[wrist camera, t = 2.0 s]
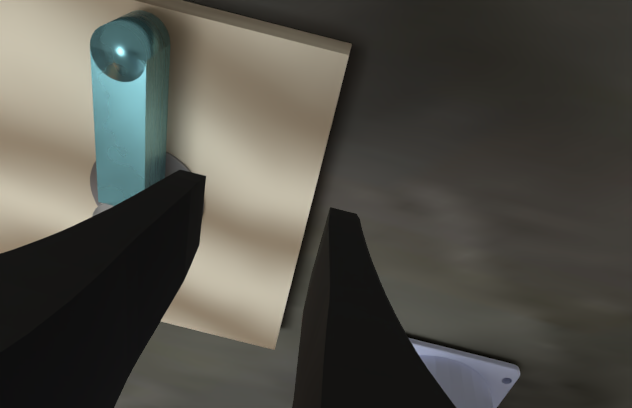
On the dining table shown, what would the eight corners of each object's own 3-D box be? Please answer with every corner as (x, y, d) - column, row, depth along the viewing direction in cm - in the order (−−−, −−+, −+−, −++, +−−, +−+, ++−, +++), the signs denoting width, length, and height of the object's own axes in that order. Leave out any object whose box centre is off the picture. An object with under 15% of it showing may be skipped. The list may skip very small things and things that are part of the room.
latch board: (279, 328, 27) (273, 352, 25) (-37, 249, 27) (-61, 269, 25) (351, 43, 18) (348, 57, 16) (-124, -79, 18) (-168, -75, 16)
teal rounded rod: (169, 229, 21) (150, 258, 20) (116, 216, 21) (93, 243, 20) (180, 19, 16) (155, 34, 15) (110, 1, 16) (78, 14, 14)
